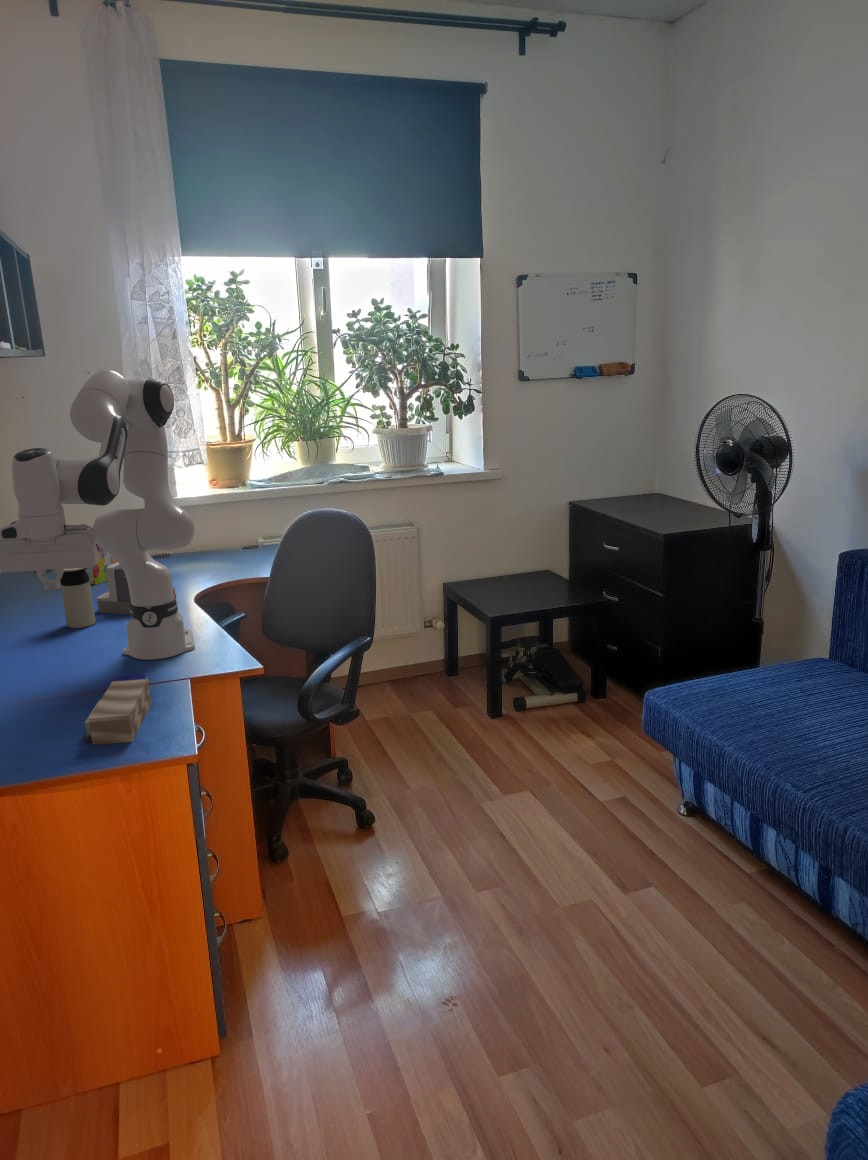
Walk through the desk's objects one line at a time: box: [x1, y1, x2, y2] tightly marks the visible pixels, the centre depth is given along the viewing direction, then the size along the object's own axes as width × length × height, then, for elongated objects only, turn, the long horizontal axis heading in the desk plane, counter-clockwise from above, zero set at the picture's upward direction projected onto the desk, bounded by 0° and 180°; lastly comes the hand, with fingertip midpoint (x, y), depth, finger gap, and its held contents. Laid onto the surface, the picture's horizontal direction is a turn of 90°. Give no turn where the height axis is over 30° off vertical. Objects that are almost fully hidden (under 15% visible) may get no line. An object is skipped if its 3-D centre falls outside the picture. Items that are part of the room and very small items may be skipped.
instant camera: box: [96, 562, 177, 615], centre depth 270 cm, size 21×21×15 cm
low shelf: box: [85, 678, 152, 746], centre depth 184 cm, size 20×10×6 cm, turn 7°
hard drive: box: [110, 673, 148, 684], centre depth 205 cm, size 2×8×12 cm
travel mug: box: [60, 568, 96, 629], centre depth 251 cm, size 8×8×18 cm
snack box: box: [86, 542, 118, 586], centre depth 305 cm, size 21×6×15 cm, turn 154°
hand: (53, 589), depth 184 cm, fingers closed
